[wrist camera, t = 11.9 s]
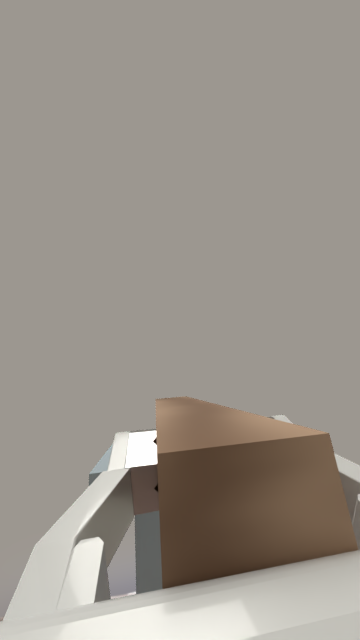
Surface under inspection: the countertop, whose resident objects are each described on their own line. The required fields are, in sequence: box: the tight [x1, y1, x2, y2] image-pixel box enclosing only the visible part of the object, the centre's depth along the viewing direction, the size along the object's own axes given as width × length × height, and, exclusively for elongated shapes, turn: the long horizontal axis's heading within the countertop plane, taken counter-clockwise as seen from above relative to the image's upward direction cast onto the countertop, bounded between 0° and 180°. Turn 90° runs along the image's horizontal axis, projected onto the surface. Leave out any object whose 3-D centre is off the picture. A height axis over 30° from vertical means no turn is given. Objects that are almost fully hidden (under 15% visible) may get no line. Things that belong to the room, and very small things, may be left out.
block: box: [156, 397, 358, 589], centre depth 14 cm, size 4×22×2 cm, turn 6°
